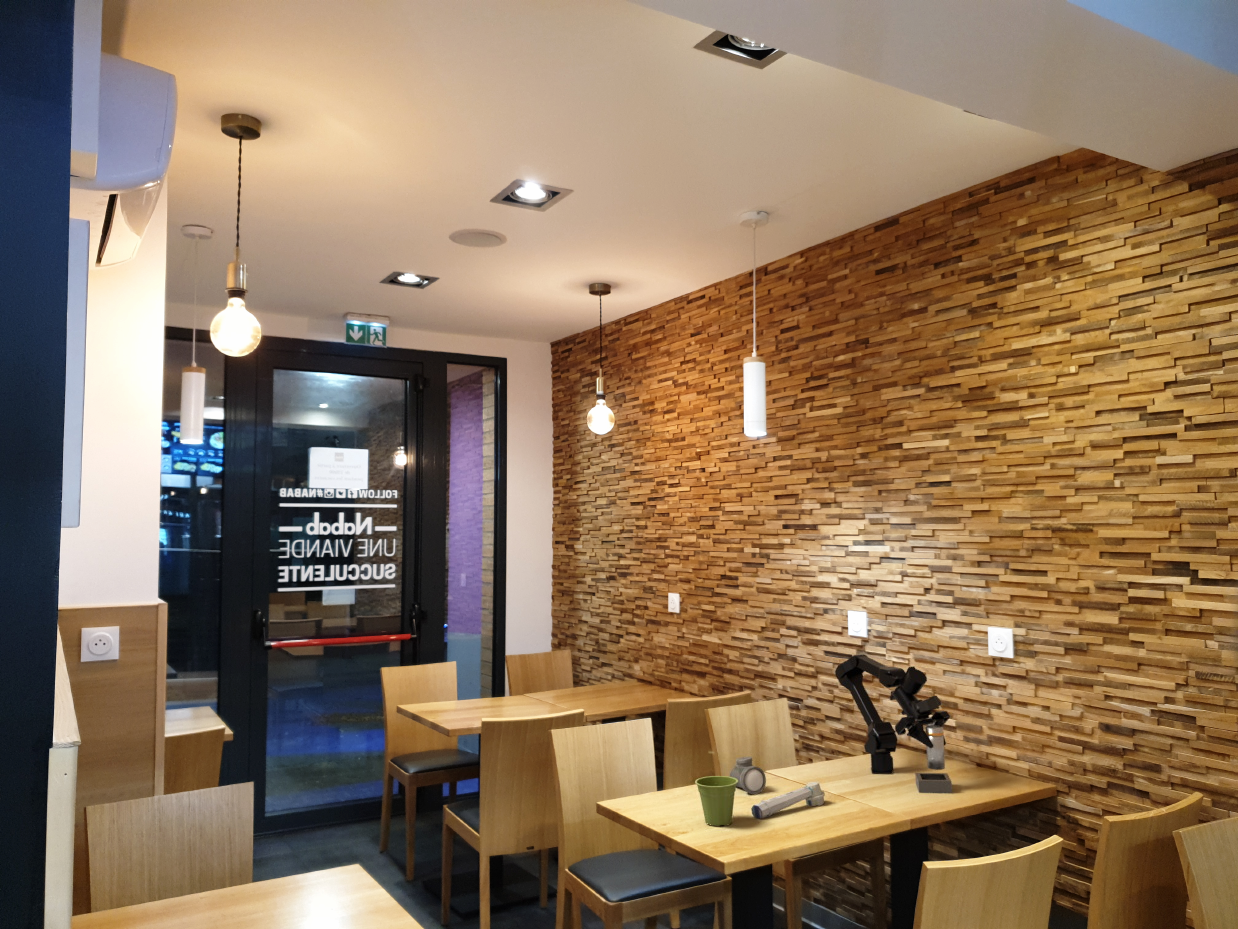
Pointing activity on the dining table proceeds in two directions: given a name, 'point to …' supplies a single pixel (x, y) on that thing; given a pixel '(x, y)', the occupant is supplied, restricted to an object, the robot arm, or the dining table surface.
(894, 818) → the dining table surface
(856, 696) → the robot arm
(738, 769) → the pipe fitting
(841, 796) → the dining table surface
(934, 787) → the collar
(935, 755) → the tube
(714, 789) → the plant pot
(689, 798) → the dining table surface
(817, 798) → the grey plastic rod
